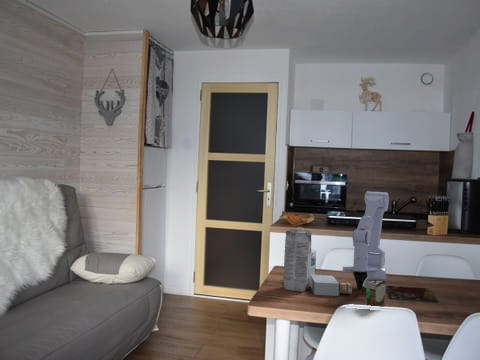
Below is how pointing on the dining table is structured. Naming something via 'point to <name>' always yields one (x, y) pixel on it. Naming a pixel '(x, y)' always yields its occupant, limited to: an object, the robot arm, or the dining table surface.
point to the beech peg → (345, 288)
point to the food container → (375, 291)
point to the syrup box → (313, 263)
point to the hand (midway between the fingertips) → (359, 289)
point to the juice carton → (297, 260)
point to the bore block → (325, 285)
